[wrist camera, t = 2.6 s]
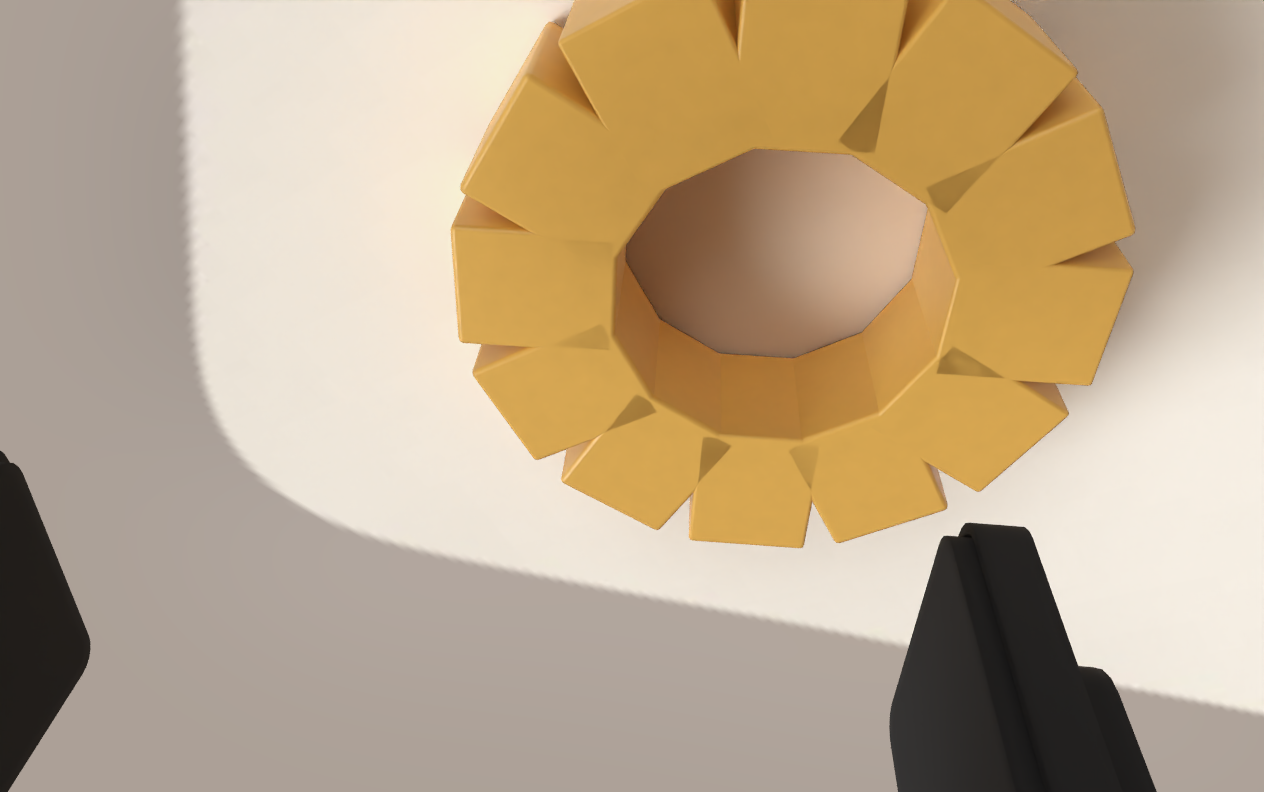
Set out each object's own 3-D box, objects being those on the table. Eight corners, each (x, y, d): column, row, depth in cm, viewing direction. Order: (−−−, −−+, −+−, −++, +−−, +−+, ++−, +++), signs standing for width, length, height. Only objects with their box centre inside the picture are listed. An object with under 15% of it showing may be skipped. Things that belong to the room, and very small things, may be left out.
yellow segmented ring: (389, 299, 18) (350, 377, 16) (695, -240, 13) (693, -221, 11) (820, 530, 21) (831, 621, 19) (1216, 157, 16) (1288, 229, 14)
